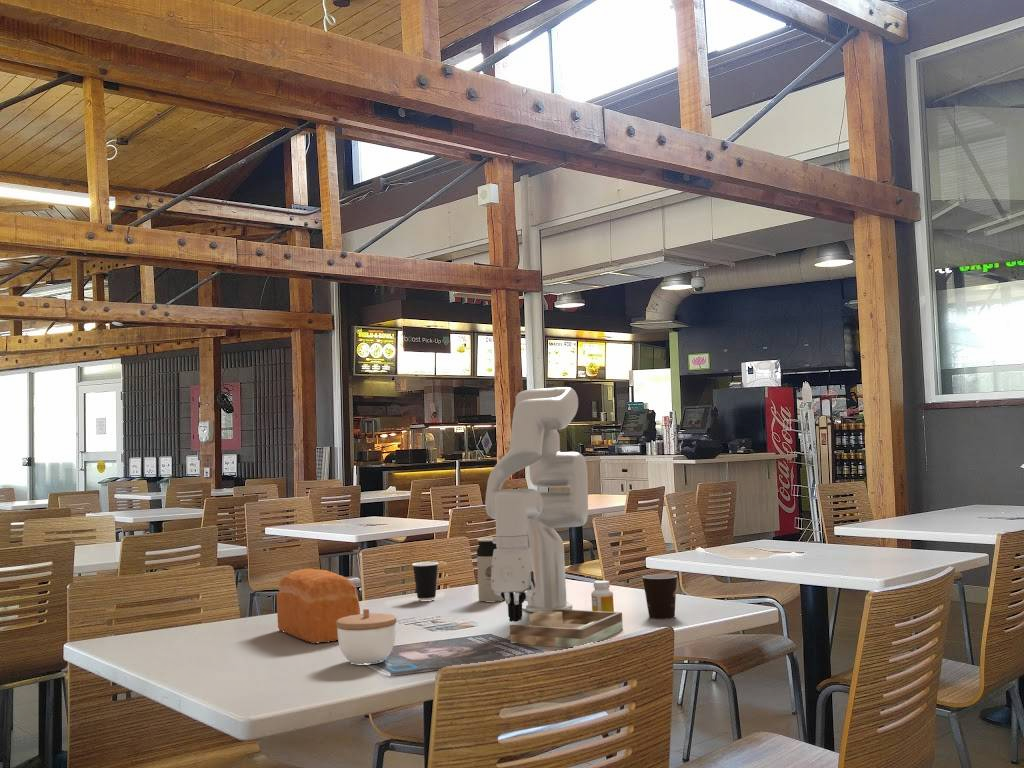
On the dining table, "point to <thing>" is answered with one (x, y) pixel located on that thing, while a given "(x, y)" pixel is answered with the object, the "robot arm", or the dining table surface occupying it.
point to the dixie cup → (425, 579)
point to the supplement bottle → (602, 597)
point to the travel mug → (486, 569)
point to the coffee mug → (660, 595)
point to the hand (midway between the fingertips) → (515, 620)
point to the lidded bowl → (366, 636)
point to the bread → (315, 604)
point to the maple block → (546, 619)
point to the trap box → (570, 629)
